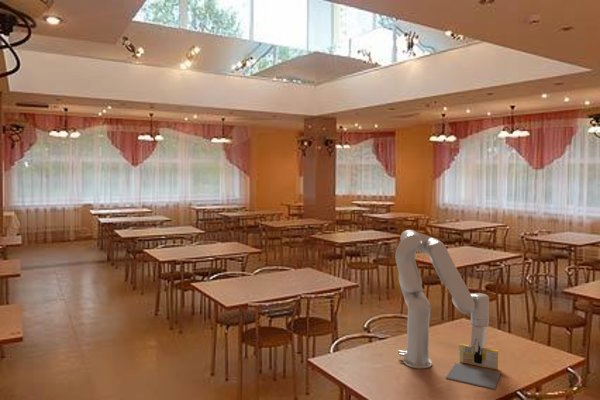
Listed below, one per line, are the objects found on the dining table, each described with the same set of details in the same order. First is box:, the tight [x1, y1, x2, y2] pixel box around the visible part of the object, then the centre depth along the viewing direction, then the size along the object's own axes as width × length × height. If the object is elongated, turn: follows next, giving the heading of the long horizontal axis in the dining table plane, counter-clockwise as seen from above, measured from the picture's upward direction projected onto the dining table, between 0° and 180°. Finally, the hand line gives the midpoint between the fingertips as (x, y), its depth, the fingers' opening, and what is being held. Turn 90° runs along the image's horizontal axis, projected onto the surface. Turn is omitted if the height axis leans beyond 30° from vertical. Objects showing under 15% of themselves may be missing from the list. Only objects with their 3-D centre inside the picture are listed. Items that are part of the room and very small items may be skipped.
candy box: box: [459, 343, 499, 370], centre depth 209 cm, size 16×2×8 cm, turn 58°
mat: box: [445, 363, 502, 391], centre depth 198 cm, size 19×17×1 cm
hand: (478, 361), depth 209 cm, fingers closed on candy box, 2 cm apart
